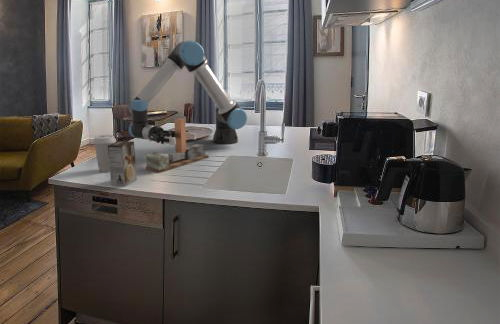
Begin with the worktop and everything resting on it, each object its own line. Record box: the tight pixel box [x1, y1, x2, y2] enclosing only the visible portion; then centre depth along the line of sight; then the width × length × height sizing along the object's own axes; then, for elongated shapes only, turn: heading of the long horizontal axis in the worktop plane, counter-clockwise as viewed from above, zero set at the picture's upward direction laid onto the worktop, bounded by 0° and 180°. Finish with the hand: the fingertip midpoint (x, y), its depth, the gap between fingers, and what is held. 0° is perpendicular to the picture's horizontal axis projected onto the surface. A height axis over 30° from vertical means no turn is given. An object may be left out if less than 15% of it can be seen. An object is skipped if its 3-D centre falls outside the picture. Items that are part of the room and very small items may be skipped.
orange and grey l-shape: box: [167, 117, 187, 162], centre depth 179 cm, size 20×4×19 cm, turn 146°
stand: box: [145, 143, 210, 174], centre depth 178 cm, size 33×9×7 cm, turn 146°
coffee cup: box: [92, 134, 117, 173], centre depth 164 cm, size 10×10×15 cm
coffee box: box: [108, 140, 138, 187], centre depth 148 cm, size 9×6×16 cm
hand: (185, 138), depth 175 cm, fingers open, 13 cm apart
